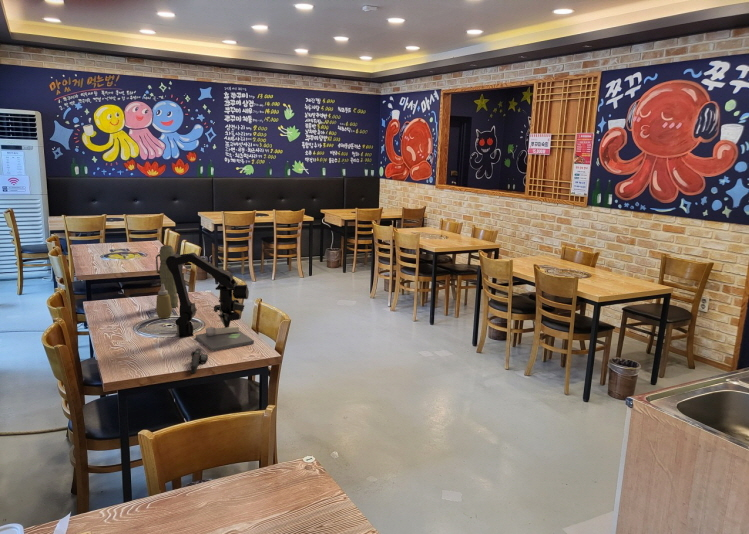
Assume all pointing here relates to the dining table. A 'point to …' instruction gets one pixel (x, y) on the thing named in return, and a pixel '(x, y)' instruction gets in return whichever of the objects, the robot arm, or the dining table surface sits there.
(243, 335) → the board
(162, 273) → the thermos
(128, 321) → the dining table surface
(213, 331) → the dial lever
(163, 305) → the squeeze bottle
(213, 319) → the dining table surface
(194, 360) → the can opener
